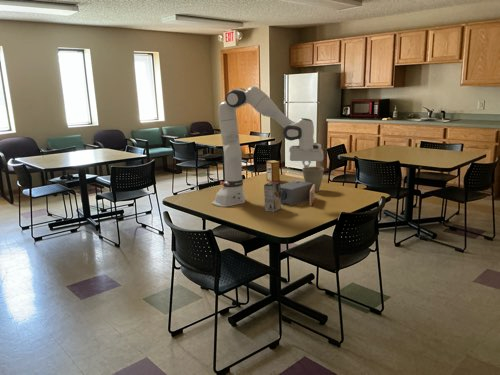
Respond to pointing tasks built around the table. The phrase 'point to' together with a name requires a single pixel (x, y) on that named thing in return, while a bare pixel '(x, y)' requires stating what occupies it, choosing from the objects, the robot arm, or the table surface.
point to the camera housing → (295, 192)
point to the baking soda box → (273, 171)
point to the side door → (312, 194)
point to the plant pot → (313, 176)
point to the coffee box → (272, 196)
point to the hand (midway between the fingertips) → (306, 168)
